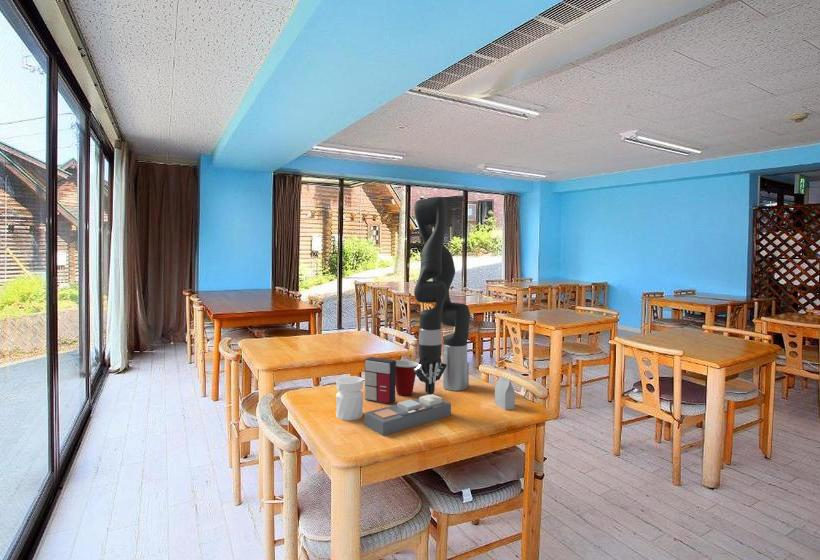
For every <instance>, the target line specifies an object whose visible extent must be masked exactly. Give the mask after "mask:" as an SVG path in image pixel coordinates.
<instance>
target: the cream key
mask: <svg viewBox="0 0 820 560" xmlns="http://www.w3.org/2000/svg"><path fill="white" fill-rule="evenodd" d="M418 399H419V402H420V403H423V404H425V405H427V406H433V405H437V404H440V403H442V400H443V397H441V396H438V395H437V394H436V395H435V394H431V395H429V394H425V395H422V396H419V398H418Z"/></svg>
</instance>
